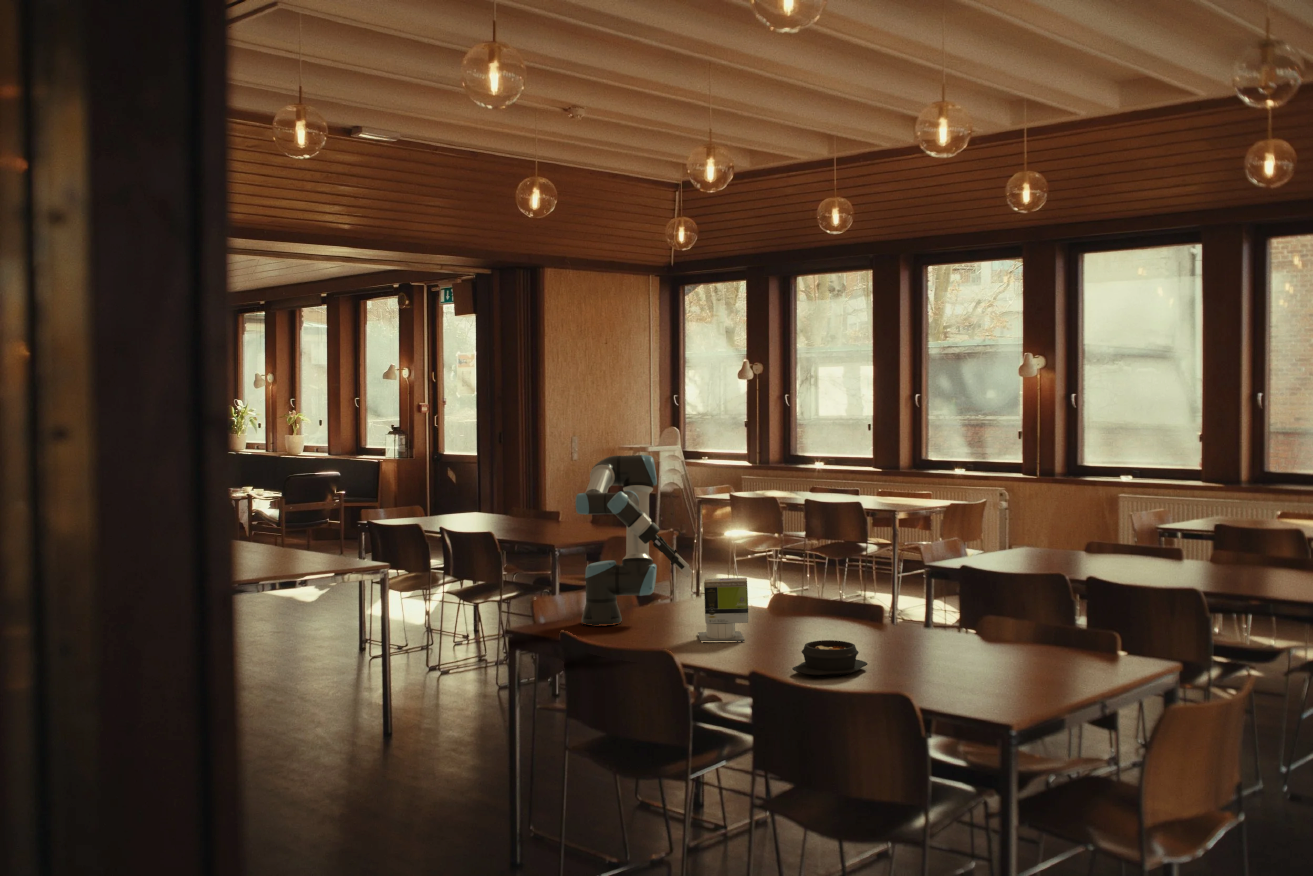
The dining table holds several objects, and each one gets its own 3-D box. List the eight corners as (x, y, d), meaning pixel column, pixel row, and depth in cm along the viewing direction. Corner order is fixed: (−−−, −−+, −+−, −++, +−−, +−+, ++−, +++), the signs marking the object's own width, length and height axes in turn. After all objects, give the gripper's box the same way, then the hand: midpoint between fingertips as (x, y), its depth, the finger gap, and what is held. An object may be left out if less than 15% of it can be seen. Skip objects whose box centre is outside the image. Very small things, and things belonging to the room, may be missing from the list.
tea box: (748, 618, 401) (747, 576, 400) (748, 624, 391) (747, 581, 390) (705, 619, 402) (704, 577, 401) (704, 624, 392) (703, 581, 391)
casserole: (823, 684, 327) (822, 655, 326) (778, 673, 341) (777, 645, 341) (882, 671, 342) (881, 643, 342) (836, 661, 357) (836, 635, 356)
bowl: (697, 635, 404) (697, 618, 404) (740, 634, 404) (739, 617, 404) (700, 643, 389) (700, 625, 389) (744, 642, 389) (744, 624, 389)
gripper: (636, 532, 406) (678, 573, 407) (638, 540, 381) (683, 585, 382) (651, 517, 406) (693, 558, 407) (654, 524, 381) (699, 569, 382)
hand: (688, 571), depth 395 cm, fingers open, 13 cm apart
